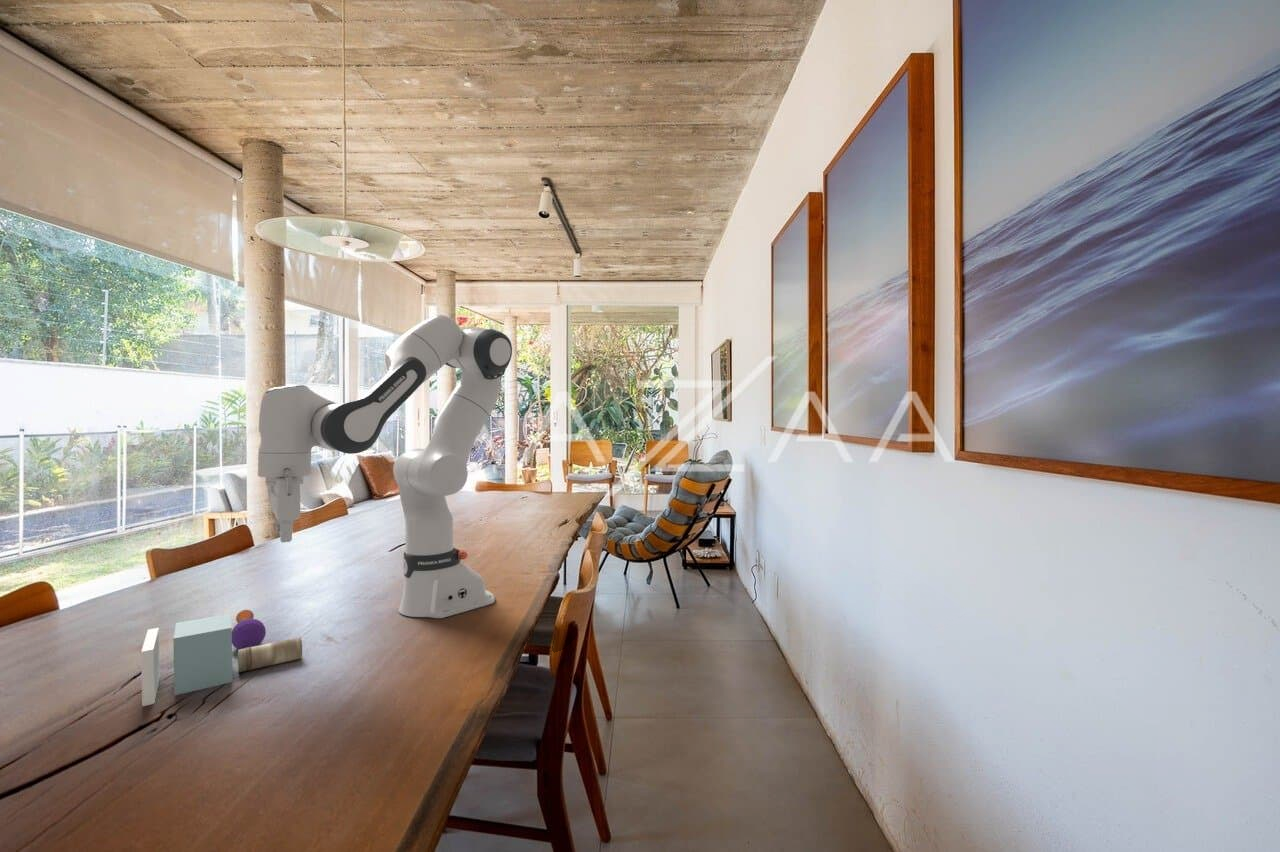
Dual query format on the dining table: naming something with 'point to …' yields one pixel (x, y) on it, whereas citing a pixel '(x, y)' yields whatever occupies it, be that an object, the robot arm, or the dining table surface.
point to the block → (202, 653)
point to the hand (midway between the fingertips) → (283, 537)
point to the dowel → (269, 654)
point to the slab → (150, 666)
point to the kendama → (247, 630)
